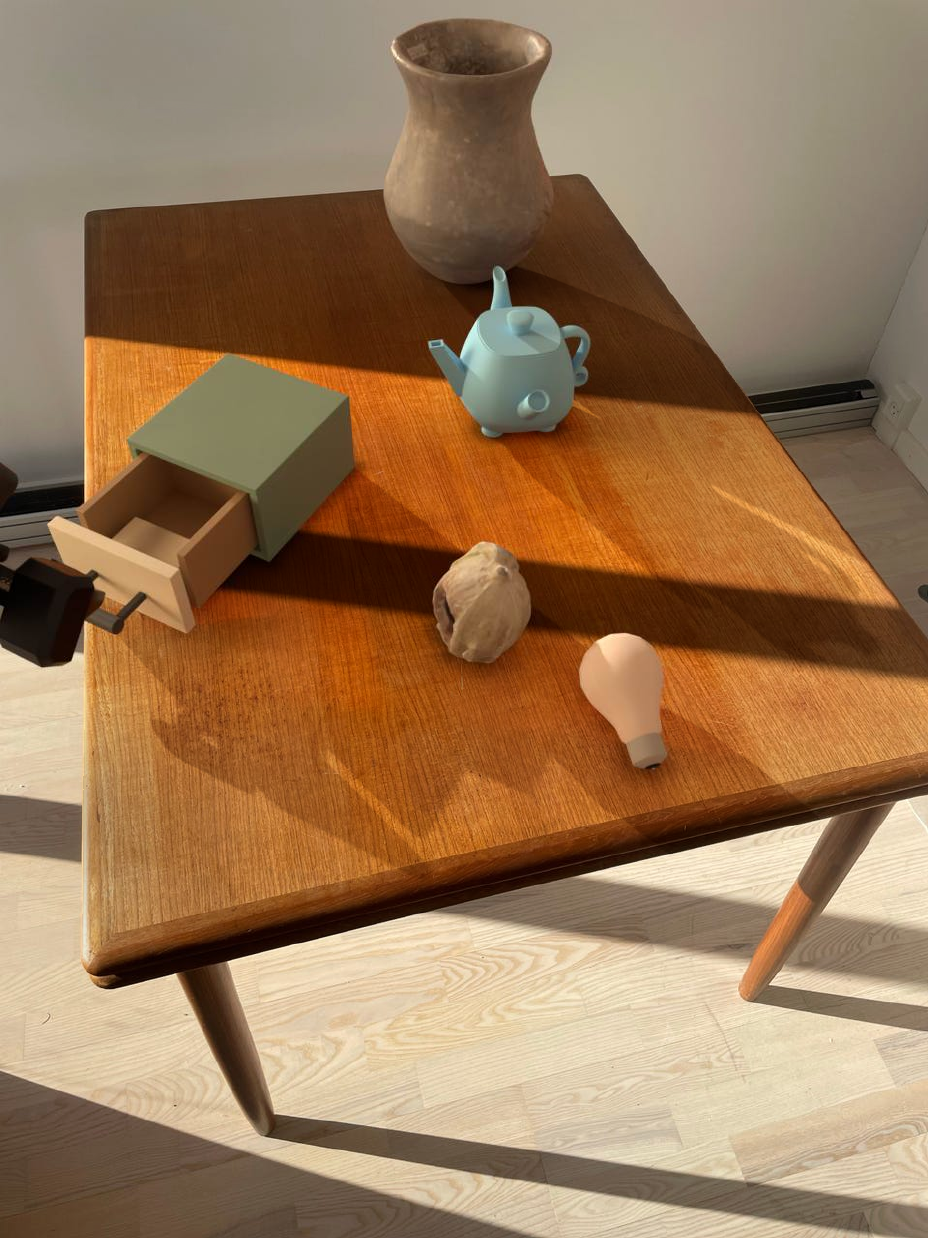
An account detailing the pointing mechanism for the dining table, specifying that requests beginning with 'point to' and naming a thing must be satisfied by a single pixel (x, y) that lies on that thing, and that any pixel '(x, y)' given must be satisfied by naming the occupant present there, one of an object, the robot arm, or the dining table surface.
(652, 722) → the light bulb
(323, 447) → the cabinet
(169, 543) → the beige rectangular block
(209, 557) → the drawer
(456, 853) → the dining table surface
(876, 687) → the dining table surface
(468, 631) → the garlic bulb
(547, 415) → the teapot
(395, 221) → the vase
